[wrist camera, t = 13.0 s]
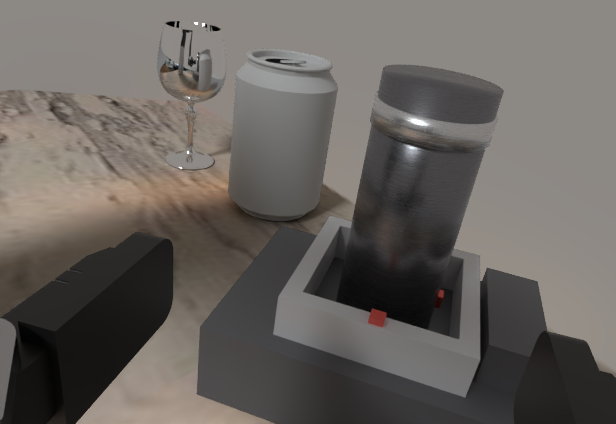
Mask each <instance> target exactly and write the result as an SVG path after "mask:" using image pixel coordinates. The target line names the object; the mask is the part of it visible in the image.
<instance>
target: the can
mask: <svg viewBox="0 0 616 424" xmlns="http://www.w3.org/2000/svg"><path fill="white" fill-rule="evenodd" d="M246 56H247V57H248V62H247V63H246V64H245V65H244V66H243V67H242V68H241V69H239V70H238V72H237V73H236V83H235V99H234V112H233V127H232V141H231V156H230V171H229V185H228V192H229V195H230V198H231V199H232V200H233V201H234V202H235V203H236V204H238V205H239V207H240V208H241V209H242V210H243V211H244V212H246V213H248V214H250V215H252V216H254V217H257V218H261V219H264V220H272V221H289V220H293V219H298V218H300V217H302V216H304V215H305V214H306V213H307V212H309V211H311V210H313V209H315V208H316V206H317V205H318V204H319V200H320V194H321V188H322V182H323V176H324V170H325V164H326V158H327V151H328V145H329V139H330V133H331V127H332V121H333V114H334V108H335V102H336V96H337V90H338V87H337V83H336V82H335V80H334V79H333V77H332V76H331V74H330V69H332V67H333V66H332V63H331V62H329V61H328V60H326V59H323V58H321V57H318V56H314V55H311V54H306V53H301V52H296V51H289V50H279V49H256V50H251V51H249V52H248V53H247V54H246Z"/></svg>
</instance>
